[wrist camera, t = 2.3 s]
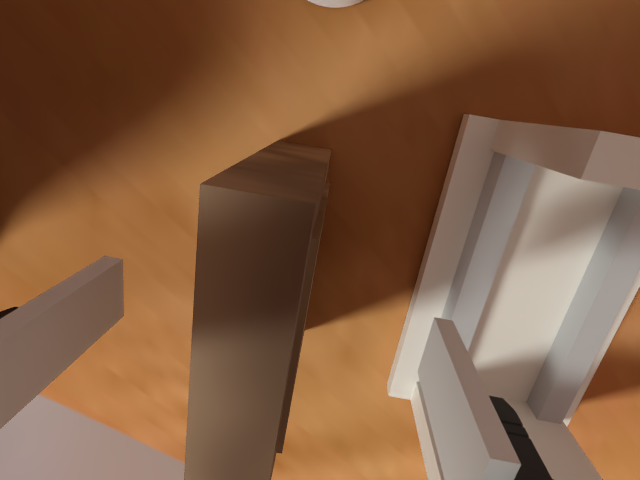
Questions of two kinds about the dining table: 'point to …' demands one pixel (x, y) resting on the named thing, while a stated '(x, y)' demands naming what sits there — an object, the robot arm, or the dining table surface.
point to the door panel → (251, 307)
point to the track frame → (528, 274)
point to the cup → (335, 3)
